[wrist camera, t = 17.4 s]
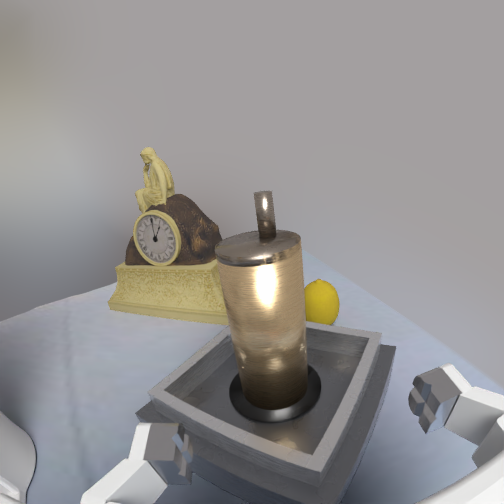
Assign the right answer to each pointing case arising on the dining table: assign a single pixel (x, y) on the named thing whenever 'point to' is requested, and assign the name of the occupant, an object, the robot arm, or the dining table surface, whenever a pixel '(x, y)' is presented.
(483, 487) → the robot arm
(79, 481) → the dining table surface
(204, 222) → the decorative clock
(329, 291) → the lemon
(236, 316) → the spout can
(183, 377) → the housing
